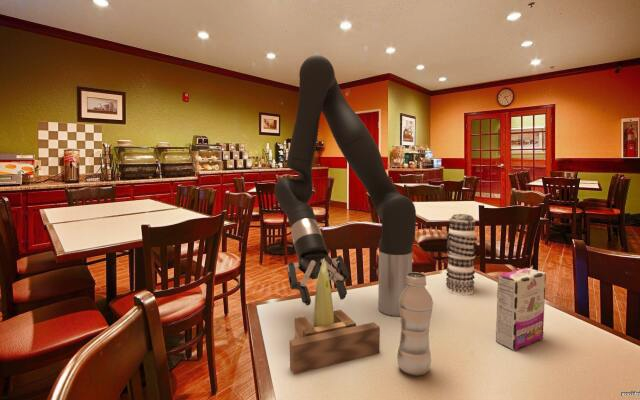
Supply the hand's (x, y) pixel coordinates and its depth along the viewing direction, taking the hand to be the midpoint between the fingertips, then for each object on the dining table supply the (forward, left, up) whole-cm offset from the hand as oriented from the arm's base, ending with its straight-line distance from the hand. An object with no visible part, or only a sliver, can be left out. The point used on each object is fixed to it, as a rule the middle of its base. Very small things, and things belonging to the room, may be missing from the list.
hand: (326, 301), depth 77 cm
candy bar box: (-43, +15, -11) cm, 47 cm away
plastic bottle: (-13, +15, -11) cm, 23 cm away
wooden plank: (0, +5, -11) cm, 12 cm away
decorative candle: (-54, -15, -11) cm, 57 cm away
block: (0, -1, -11) cm, 11 cm away
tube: (0, -1, -11) cm, 11 cm away
